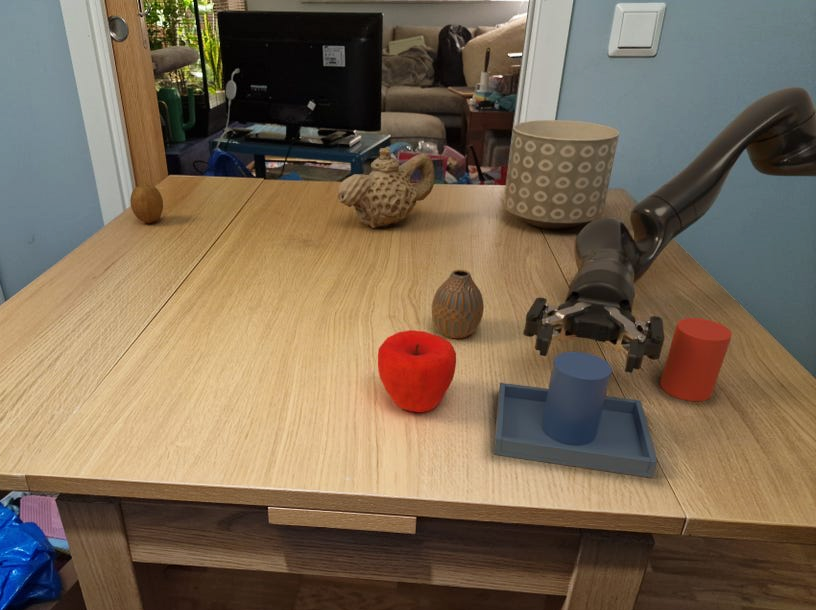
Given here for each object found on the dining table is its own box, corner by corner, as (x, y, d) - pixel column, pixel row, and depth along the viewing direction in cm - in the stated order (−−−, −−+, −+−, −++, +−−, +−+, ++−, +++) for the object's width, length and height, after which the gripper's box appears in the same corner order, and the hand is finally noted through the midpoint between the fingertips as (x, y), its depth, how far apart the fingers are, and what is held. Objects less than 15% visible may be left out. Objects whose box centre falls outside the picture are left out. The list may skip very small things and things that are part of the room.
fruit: (169, 218, 135) (164, 179, 131) (159, 228, 130) (154, 187, 126) (140, 217, 136) (134, 178, 132) (128, 227, 130) (122, 186, 127)
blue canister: (593, 418, 72) (609, 355, 68) (598, 449, 68) (614, 382, 64) (541, 411, 74) (552, 348, 70) (541, 441, 69) (554, 375, 65)
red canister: (705, 379, 81) (725, 320, 77) (716, 404, 76) (737, 342, 72) (656, 373, 82) (672, 315, 78) (664, 397, 77) (682, 337, 73)
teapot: (353, 241, 124) (354, 159, 116) (324, 223, 132) (324, 146, 125) (445, 224, 132) (452, 147, 125) (413, 209, 141) (417, 136, 134)
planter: (536, 203, 145) (550, 116, 136) (618, 224, 132) (638, 130, 123) (482, 221, 134) (493, 128, 125) (565, 245, 122) (583, 144, 113)
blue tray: (636, 415, 74) (640, 400, 73) (652, 478, 64) (657, 462, 64) (497, 396, 77) (500, 382, 76) (493, 454, 68) (495, 438, 67)
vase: (488, 329, 92) (496, 270, 88) (467, 348, 87) (474, 287, 83) (443, 316, 96) (448, 259, 91) (421, 335, 91) (425, 275, 86)
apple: (366, 386, 79) (367, 328, 75) (435, 378, 81) (440, 320, 77) (388, 429, 71) (391, 367, 68) (464, 419, 73) (471, 357, 69)
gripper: (655, 335, 81) (652, 402, 68) (536, 314, 86) (511, 373, 73) (671, 278, 77) (670, 337, 64) (545, 259, 82) (521, 311, 69)
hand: (586, 356), depth 68 cm, fingers open, 8 cm apart
